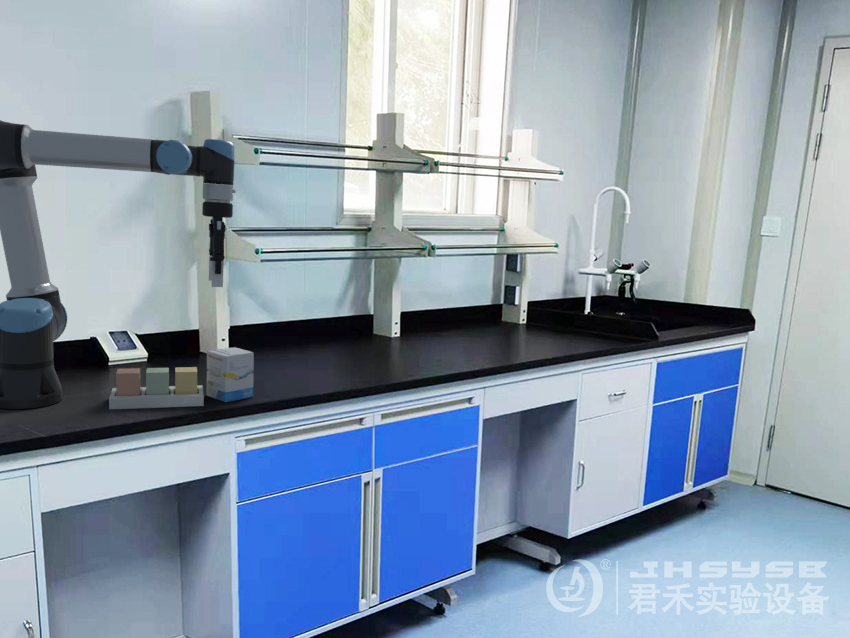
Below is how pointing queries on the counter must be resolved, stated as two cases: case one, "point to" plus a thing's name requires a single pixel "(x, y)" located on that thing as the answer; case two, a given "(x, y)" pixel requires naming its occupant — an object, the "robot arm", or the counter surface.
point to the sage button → (157, 381)
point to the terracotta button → (128, 382)
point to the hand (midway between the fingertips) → (215, 283)
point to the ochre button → (186, 380)
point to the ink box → (230, 374)
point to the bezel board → (156, 399)
